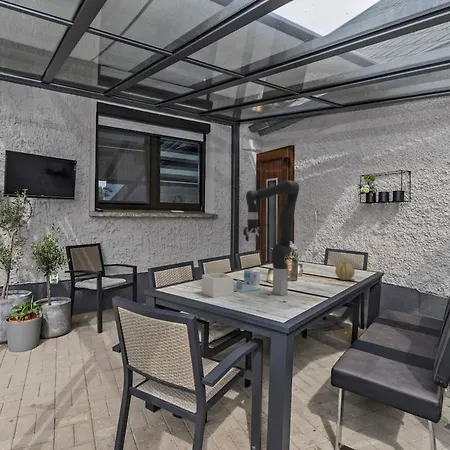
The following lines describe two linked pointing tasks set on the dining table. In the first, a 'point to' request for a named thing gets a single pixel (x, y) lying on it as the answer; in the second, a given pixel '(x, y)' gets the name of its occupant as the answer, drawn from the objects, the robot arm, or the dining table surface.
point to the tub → (217, 285)
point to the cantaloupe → (344, 271)
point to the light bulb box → (252, 277)
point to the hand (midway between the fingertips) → (252, 241)
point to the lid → (244, 287)
